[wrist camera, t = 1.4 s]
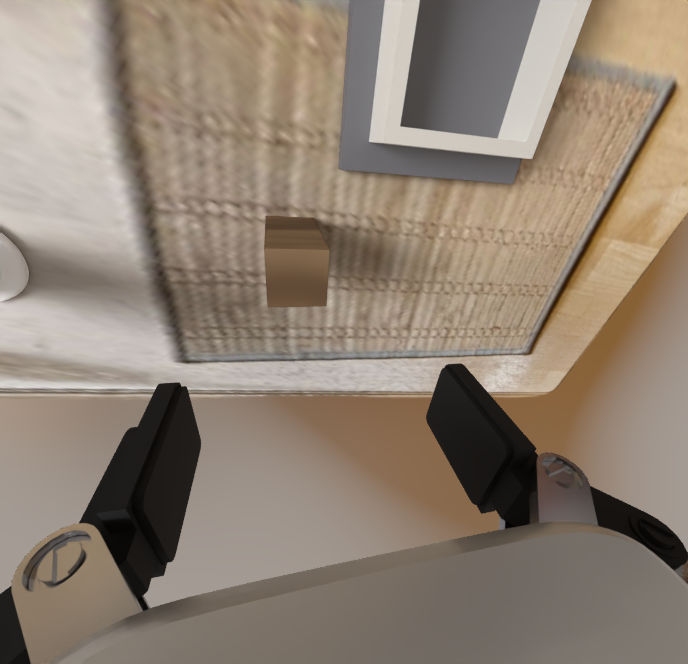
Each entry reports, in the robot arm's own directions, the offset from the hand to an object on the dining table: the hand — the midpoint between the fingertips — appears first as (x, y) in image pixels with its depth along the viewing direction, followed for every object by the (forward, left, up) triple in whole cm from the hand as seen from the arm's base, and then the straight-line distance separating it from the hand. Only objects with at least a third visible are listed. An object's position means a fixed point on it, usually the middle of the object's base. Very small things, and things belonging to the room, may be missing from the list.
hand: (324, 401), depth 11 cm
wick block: (0, 0, -19) cm, 19 cm away
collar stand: (-14, +12, -19) cm, 27 cm away
